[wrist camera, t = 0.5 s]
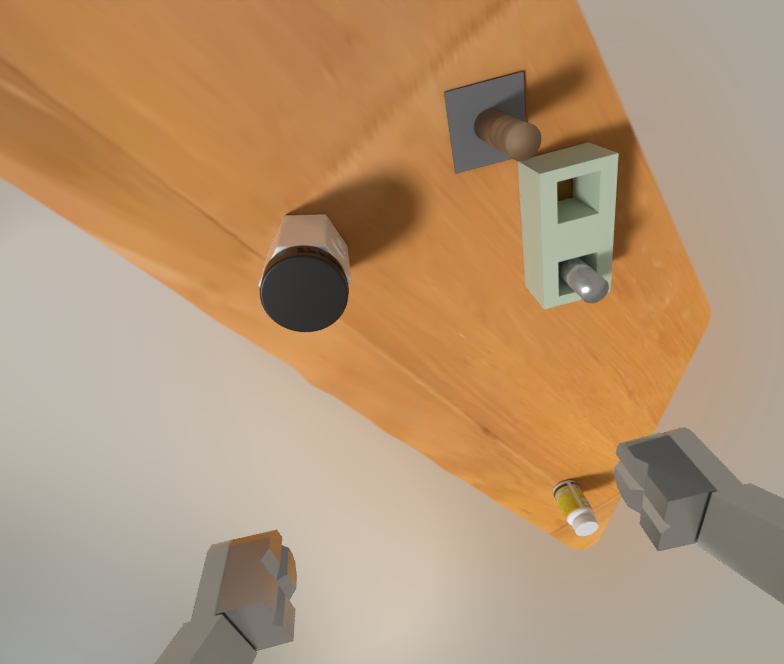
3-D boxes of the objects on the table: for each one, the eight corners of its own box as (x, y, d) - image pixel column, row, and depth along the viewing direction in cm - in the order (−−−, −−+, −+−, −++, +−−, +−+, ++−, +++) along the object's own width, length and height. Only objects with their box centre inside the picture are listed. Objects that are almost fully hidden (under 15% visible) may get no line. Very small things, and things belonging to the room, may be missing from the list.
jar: (359, 260, 53) (367, 309, 43) (302, 293, 54) (297, 349, 44) (315, 195, 48) (313, 234, 38) (254, 233, 50) (237, 281, 40)
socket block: (517, 160, 49) (539, 174, 44) (588, 142, 49) (618, 153, 44) (525, 286, 58) (544, 309, 53) (585, 270, 58) (610, 292, 53)
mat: (443, 92, 45) (444, 92, 44) (521, 71, 44) (523, 71, 44) (455, 172, 49) (456, 173, 49) (526, 153, 49) (527, 154, 48)
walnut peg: (472, 113, 46) (505, 128, 37) (500, 105, 46) (540, 119, 37) (475, 143, 47) (508, 164, 39) (503, 136, 47) (541, 156, 39)
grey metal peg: (542, 246, 55) (581, 282, 47) (566, 240, 55) (609, 274, 47) (543, 267, 57) (581, 306, 48) (566, 261, 57) (608, 299, 48)
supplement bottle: (550, 497, 83) (570, 539, 76) (554, 480, 81) (576, 522, 74) (574, 494, 84) (597, 535, 77) (579, 477, 81) (604, 518, 74)
